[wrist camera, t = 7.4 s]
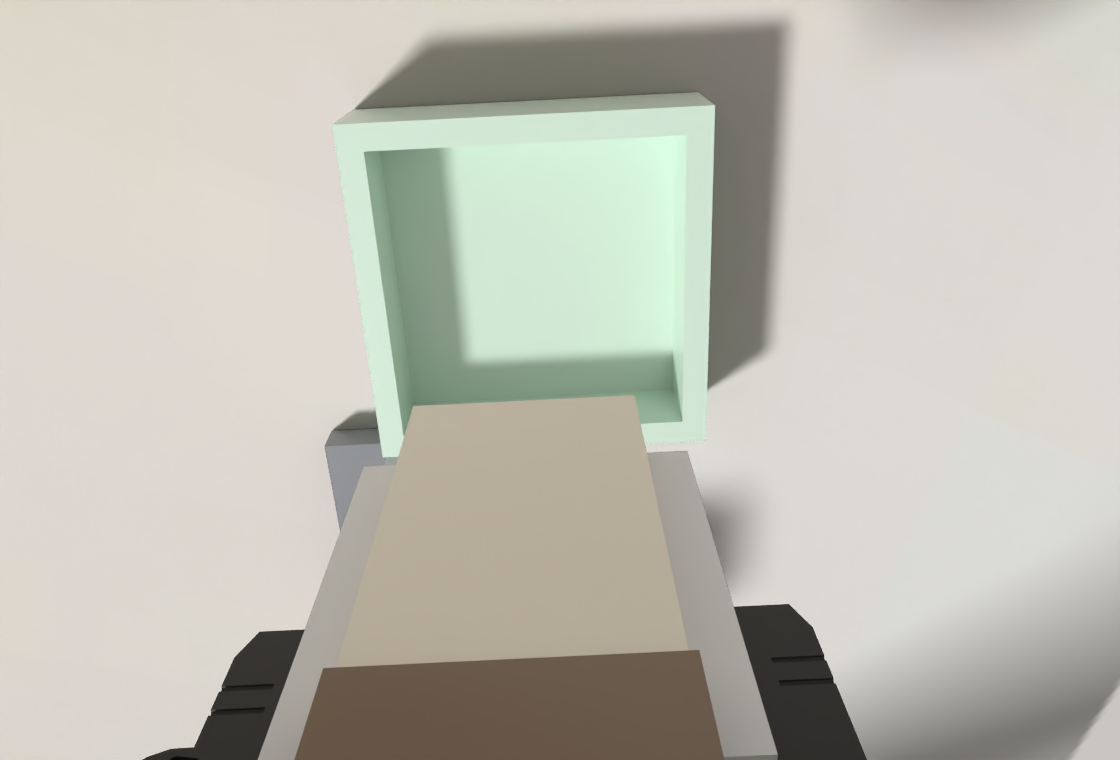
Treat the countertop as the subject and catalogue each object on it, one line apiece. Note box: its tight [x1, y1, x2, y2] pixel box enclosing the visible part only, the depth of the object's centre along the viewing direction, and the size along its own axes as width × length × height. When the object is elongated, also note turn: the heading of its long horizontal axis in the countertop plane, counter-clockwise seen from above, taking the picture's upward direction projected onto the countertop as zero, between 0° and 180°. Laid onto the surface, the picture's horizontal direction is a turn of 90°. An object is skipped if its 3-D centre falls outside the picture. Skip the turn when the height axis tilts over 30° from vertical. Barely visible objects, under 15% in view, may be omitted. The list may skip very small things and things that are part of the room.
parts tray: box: [332, 92, 715, 457], centre depth 29 cm, size 11×11×3 cm
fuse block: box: [325, 428, 398, 531], centre depth 35 cm, size 16×9×3 cm, turn 3°
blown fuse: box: [294, 395, 724, 760], centre depth 12 cm, size 4×4×9 cm
